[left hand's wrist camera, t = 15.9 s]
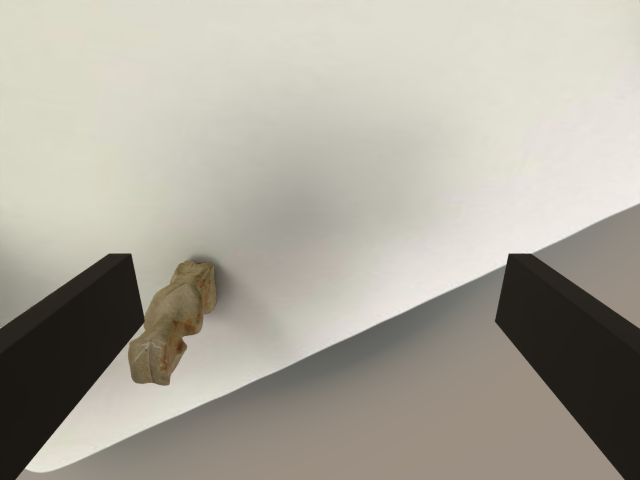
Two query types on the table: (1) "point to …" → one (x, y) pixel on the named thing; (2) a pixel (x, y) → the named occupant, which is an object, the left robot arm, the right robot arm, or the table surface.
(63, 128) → the table surface
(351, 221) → the table surface
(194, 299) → the sculpture
